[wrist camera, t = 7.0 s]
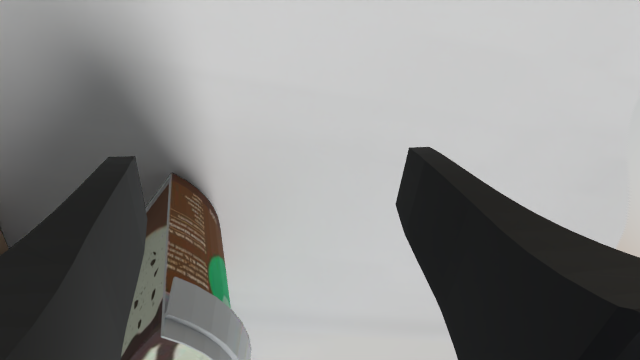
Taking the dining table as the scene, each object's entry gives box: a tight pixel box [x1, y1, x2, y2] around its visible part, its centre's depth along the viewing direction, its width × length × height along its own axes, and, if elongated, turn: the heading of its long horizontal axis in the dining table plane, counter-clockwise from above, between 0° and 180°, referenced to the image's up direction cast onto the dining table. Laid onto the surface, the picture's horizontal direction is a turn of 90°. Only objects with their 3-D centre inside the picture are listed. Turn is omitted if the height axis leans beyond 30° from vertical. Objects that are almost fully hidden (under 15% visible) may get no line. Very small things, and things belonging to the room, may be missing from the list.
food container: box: [121, 173, 251, 360], centre depth 22 cm, size 12×6×10 cm, turn 140°
